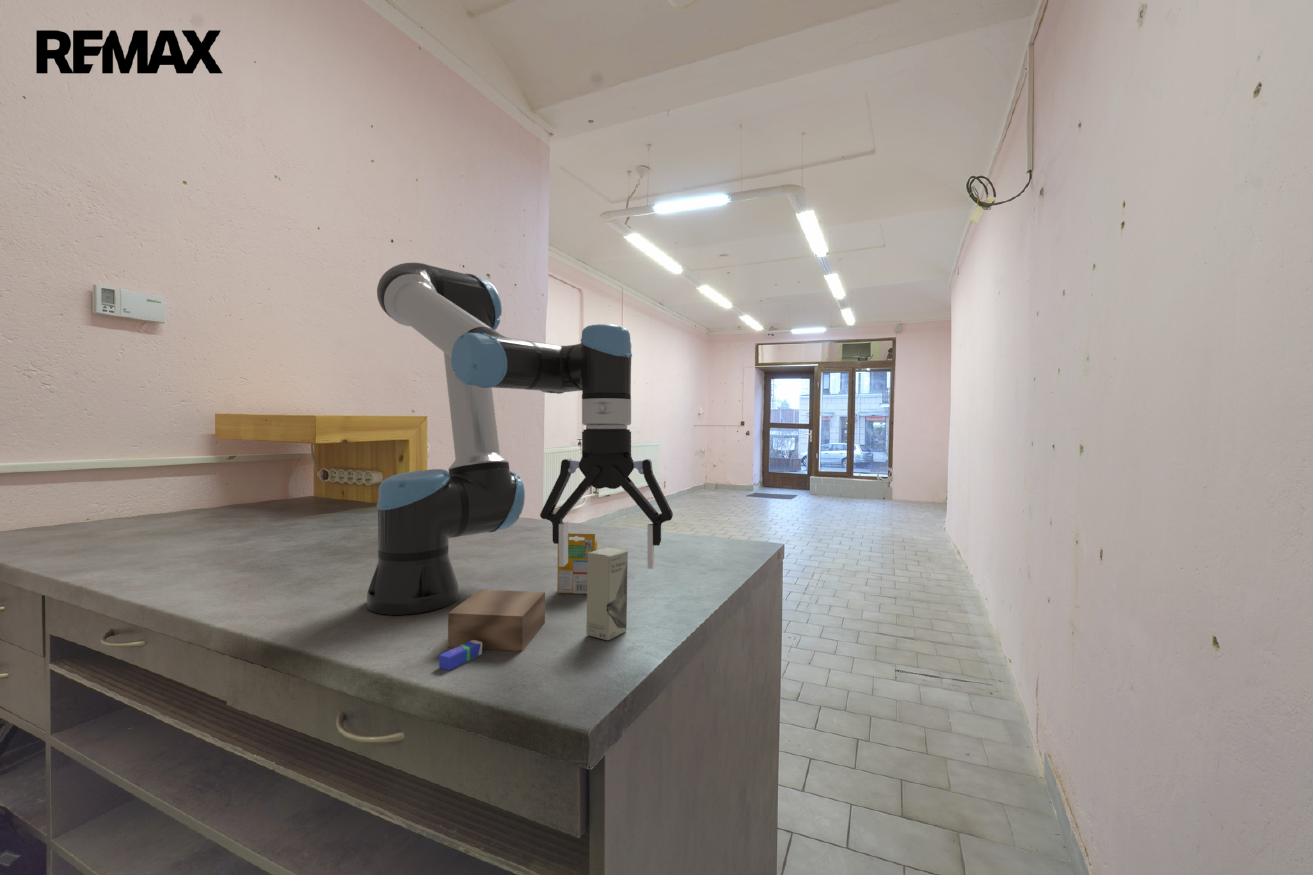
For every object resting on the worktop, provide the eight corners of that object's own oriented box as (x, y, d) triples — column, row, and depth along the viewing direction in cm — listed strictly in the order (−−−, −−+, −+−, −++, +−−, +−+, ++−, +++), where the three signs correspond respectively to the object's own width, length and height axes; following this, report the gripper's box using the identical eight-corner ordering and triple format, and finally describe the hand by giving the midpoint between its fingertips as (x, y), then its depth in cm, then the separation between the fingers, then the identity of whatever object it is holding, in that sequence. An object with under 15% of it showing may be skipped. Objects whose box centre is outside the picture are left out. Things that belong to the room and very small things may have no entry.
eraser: (482, 655, 75) (483, 641, 75) (449, 672, 70) (449, 657, 70) (472, 652, 76) (472, 638, 76) (438, 669, 71) (438, 654, 71)
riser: (448, 647, 77) (448, 613, 77) (479, 619, 88) (479, 589, 88) (522, 651, 76) (522, 616, 76) (544, 622, 87) (545, 592, 87)
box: (607, 642, 80) (608, 556, 79) (585, 635, 82) (585, 552, 82) (628, 631, 84) (629, 549, 84) (606, 625, 87) (606, 546, 86)
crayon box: (597, 589, 105) (597, 530, 105) (595, 594, 102) (595, 534, 102) (560, 588, 105) (560, 530, 105) (557, 593, 102) (557, 533, 102)
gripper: (519, 427, 79) (519, 570, 80) (687, 427, 77) (687, 573, 78) (534, 427, 87) (535, 558, 87) (688, 427, 85) (688, 561, 85)
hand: (606, 565), depth 82 cm, fingers open, 13 cm apart
